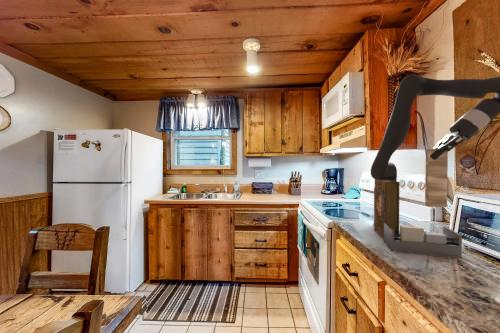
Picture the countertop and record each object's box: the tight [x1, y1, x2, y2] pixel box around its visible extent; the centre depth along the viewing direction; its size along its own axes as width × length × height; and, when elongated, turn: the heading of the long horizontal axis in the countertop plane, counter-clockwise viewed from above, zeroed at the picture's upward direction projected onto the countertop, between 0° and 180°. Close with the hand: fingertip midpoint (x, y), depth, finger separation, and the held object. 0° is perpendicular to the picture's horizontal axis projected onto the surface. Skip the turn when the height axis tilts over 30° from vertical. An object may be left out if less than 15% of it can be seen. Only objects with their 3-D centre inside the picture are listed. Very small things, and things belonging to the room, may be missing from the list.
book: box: [373, 179, 401, 240], centre depth 111 cm, size 16×6×25 cm, turn 168°
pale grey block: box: [424, 232, 446, 244], centre depth 89 cm, size 2×6×7 cm, turn 74°
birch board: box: [424, 148, 449, 208], centre depth 93 cm, size 3×6×22 cm, turn 73°
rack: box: [383, 223, 463, 259], centre depth 93 cm, size 12×22×8 cm, turn 73°
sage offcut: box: [399, 225, 425, 243], centre depth 91 cm, size 2×7×9 cm, turn 73°
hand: (430, 157), depth 93 cm, fingers closed on birch board, 3 cm apart
